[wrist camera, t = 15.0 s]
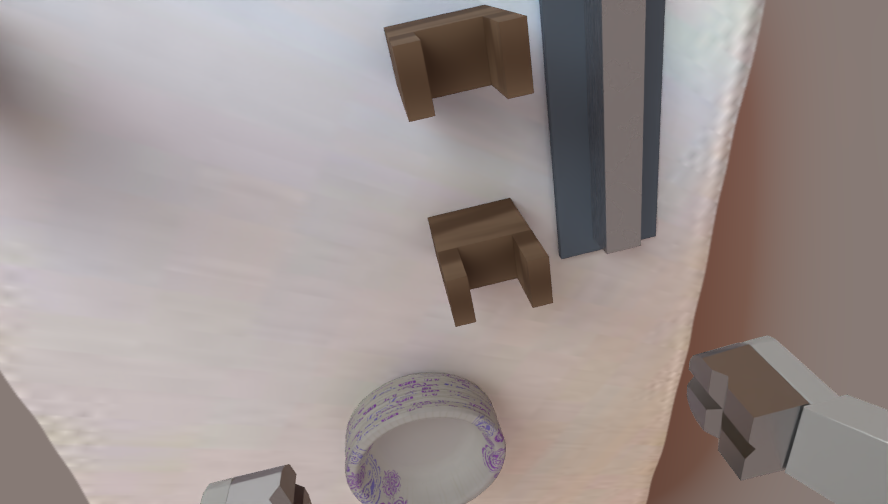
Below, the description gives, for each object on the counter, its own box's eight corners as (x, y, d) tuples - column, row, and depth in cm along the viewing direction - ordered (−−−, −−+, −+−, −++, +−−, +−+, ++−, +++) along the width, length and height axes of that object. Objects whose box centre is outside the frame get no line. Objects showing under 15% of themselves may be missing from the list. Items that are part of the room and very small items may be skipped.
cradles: (383, 27, 34) (392, 46, 25) (484, 4, 34) (526, 15, 26) (436, 257, 44) (455, 326, 35) (515, 238, 44) (552, 302, 35)
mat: (534, -58, 33) (537, -58, 32) (663, -86, 33) (668, -87, 33) (559, 255, 46) (561, 259, 45) (652, 233, 46) (655, 236, 45)
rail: (581, -41, 33) (600, -43, 31) (624, -51, 33) (647, -53, 31) (592, 237, 44) (606, 253, 42) (624, 229, 45) (640, 245, 42)
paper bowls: (515, 402, 55) (537, 464, 48) (410, 471, 58) (416, 538, 51) (429, 324, 47) (441, 383, 41) (315, 407, 50) (308, 476, 44)
